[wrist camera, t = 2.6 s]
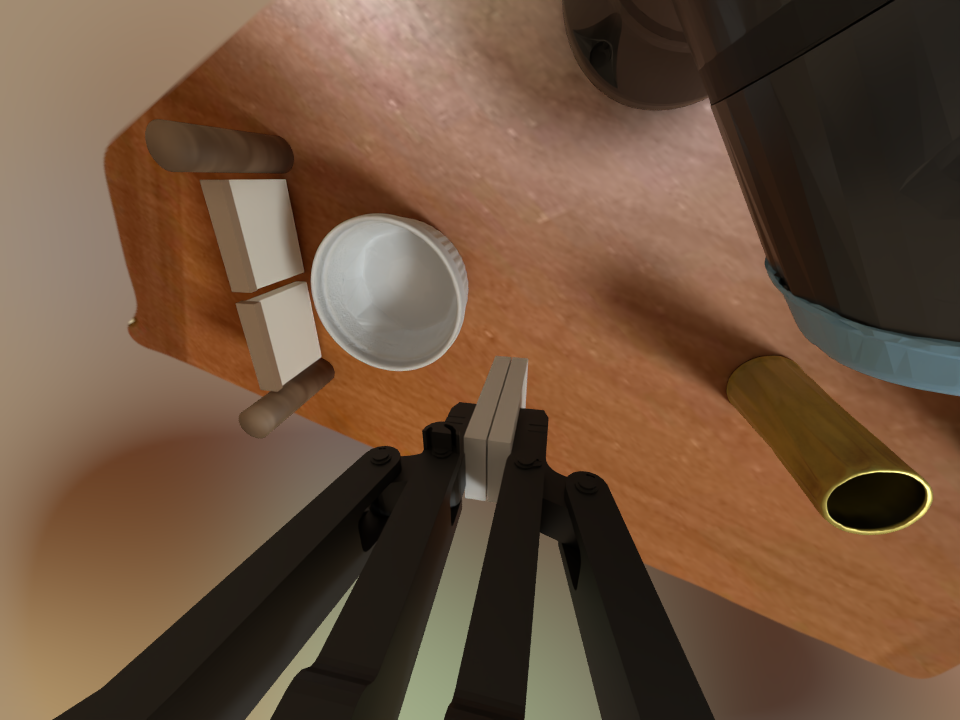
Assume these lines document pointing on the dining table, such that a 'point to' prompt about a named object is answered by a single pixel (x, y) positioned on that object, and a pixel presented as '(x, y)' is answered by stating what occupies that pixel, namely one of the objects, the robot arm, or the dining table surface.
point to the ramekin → (390, 290)
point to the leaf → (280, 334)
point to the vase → (828, 449)
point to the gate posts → (238, 154)
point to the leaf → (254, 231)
